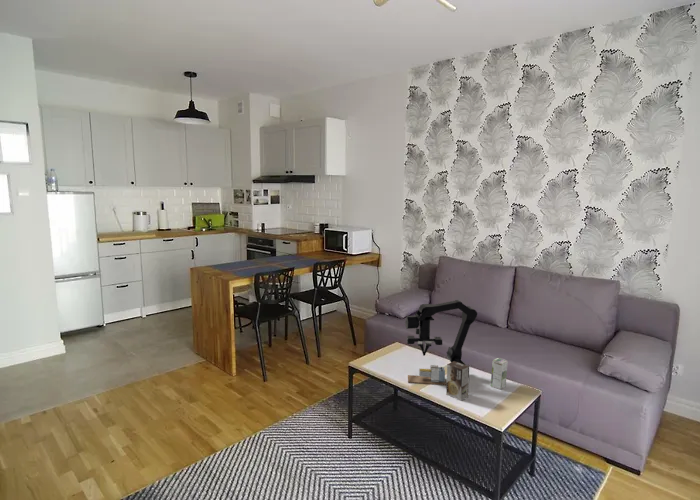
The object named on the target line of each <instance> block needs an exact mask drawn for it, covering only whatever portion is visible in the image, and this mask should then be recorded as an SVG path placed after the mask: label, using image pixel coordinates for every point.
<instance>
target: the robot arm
mask: <svg viewBox="0 0 700 500" xmlns="http://www.w3.org/2000/svg"><path fill="white" fill-rule="evenodd" d="M457 309H459V310H460V311H461V312H462V313H461V323H460V326H459V328H458V331H457V334H456V338H455V340H454V343H453V345H452V346H448V348H447V351H446V358H447V359H448V360H449V362H450V363H451V362H453V361H456V362H459V363H462V364H464V365H466V364H465V362H464V361H463V360H462V355H463V351H462V349H463V346H464V343H465V340H466V338H467V335H468V333H469V330H470V327H471V325H472V324H473V323H474V322H475V321H476V319H477V317H478V312H477V310H476V309H474V308H473V307H472V306H469V305H466V304H464V303H463V302H461V301H460V300H459V299H455V300H452V301H446V302H441V303H436V304H434V303H433V304H432V303H423V304H421V305H419V306H418V310H417V311H416V312H415V313H414V315H406V318H405V322H404V323H405V324H404V325H405V328H406V330H409V329H410V330H411V329H415V335H418V338H417V337H415V336H414V335H407V336H406V343H407V344H408V345H415V343H417V346H418V347H420V349H421V352H422V356H424V357H425V356H426V354H427V352H428V350H429V348H430V347H432V344H433V343H434V344H435V346H442V345H443V339H442V337H441V336H433V337H434V338H431V321H435V318H433V316H435V314H437V313H441V312H446V311H451V310H457Z"/></svg>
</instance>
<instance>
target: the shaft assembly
mask: <svg viewBox="0 0 700 500" xmlns="http://www.w3.org/2000/svg"><path fill="white" fill-rule="evenodd" d="M438 367H439V366H438ZM418 371H419V373H418V374H419V375H418V376H422V377H431V369H430V368H419V370H418ZM445 376H446V369H445V367H442V366H440V367H439V382H444V383H445V380H446V377H445Z"/></svg>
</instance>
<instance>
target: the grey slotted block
mask: <svg viewBox="0 0 700 500" xmlns="http://www.w3.org/2000/svg"><path fill="white" fill-rule="evenodd" d="M429 369H431V377H430V378H431V382H439V365H435V364H430V368H429Z"/></svg>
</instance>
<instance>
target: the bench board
mask: <svg viewBox="0 0 700 500" xmlns="http://www.w3.org/2000/svg"><path fill="white" fill-rule="evenodd" d="M407 383H408V384H418V385H419V384H420V385H434V386H435V385H438V386H447V379H445V383H444V382H431V378H430V377H422V376H419V375H413V374H407Z"/></svg>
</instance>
